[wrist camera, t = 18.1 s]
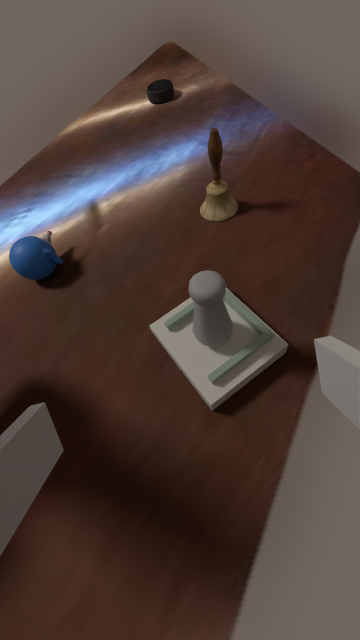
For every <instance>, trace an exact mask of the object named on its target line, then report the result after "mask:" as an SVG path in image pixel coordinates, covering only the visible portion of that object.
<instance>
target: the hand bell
mask: <svg viewBox="0 0 360 640" xmlns="http://www.w3.org/2000/svg"><path fill="white" fill-rule="evenodd" d="M208 154H209V159H210V162H211V165H212V179H213V180H212V183H210V184H209V185H208V186H207V189H206V200H205V201H204V202H203V204H202V205H201V208H200V214H201V216H202V217H203V218H204V219H206V220H208V221H215V222H219V221H224V220H227V219H229V218H231V217H232V216H234V215H235V214H236V212H237V210H238V204H237V202H236V200H235V199H234V198H232V197H231V196H230V193H229V188H228V184H227V183H226V182H224V181H221V171H220V163H221V158H222V142H221V138H220V136H219V133H218V129H217V128H213V129H211V130H210V137H209V141H208Z"/></svg>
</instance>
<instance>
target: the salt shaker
mask: <svg viewBox="0 0 360 640" xmlns="http://www.w3.org/2000/svg"><path fill="white" fill-rule="evenodd" d="M225 290H226V284H225V281H224V279H223V277H222V275H220V274H219V273H217V272H215V271H209V270H207V271H201V272H199V273H197V274H195V275H194V276H193V277H192V279H191V280H190V282H189V294H190V296H191V298H192V300H193V301H194V302H195V306H194V318H193V330H192V331H193V333H194V335H195V338H196V339H197V340H198V341H199V342H200V343H202V344H203V345H205V346H211V347H213V346H217V347H219V346H220V345H222V344H223V343H225V342H226V341H228V339H229V338H230V336H231V335H232V332H233V323H232V320H231V318H230V316H229V313H228V311H227V308H226V306H225V303H224V301H223V297H224V296H225Z"/></svg>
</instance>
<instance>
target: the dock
mask: <svg viewBox="0 0 360 640" xmlns="http://www.w3.org/2000/svg"><path fill="white" fill-rule="evenodd" d="M223 301H224V303H225V306H226V308H227V311H228V313H229V316H230V318H231V320H232V323H233V332H232V335H231V336H230V338H229V339H228V341H226V342H225V343H223V344H222V345H220V346H219V347H217V346H213V347H211V346H205V345H203V344H202V343H200V342H199V341H198V340H197V339H196V338H195V335H194V333H193V331H192V330H193V318H194V306H195V302H194V301H193V300H192V298H189V299H188V300H186V301H185V302H183V303H182V304H180V305H179V306H177V307H176V308H175V309H173V310H172V311H170V312H169V313H167V314H166V315H164V316H163V317H161V318H160V319H159V320H157V321H156V322H154V323H153V324H151V325H150V328H151V330H152V332H153V334H154V335H155V337H156V338H157V339H158V341H159V342H160V343H161V345H162V346H163V347H164V348H165V350H166V351H167V352H168V354H169V355H170V356H171V358H172V359H173V360H174V361H175V363H176V364H177V365H178V367H179V368H180V369H181V371H182V372H183V373H184V375H185V376H186V377H187V378H188V380H189V381H190V382H191V384H192V385H193V386H194V388H195V389H196V390H197V392H198V393H199V394H200V395H201V397H202V398H203V399H204V401H205V402H206V403H207V405H208V406H209V407H210V409H211V410H212V411H213V410H214V409H215V408H217V407H218V406H219V405H220V404H222V403H223V402H224V401H225V400H227V399H228V398H229V397H230V396H232V395H233V394H234V393H236V392H237V391H238V390H239V389H241V388H242V387H243V386H244V385H246V384H247V383H248V382H249V381H251V380H252V379H253V378H255V377H256V376H257V375H258V374H260V373H261V372H262V371H263V370H265V369H266V368H267V367H268V366H270V365H271V364H272V363H273V362H275V361H276V360H277V359H279V358H280V357H281V356H282V355H284V354H285V353H286V350H287V347H288V344H287V343H286V342H285V341H284V340H283V339H282V338H281V337H280V336H279V335H278V334H276V333H275V332H274V331H273V330H272V329H271V328H270V327H269V326H268V325H267V324H266V323H264V322H263V321H262V320H261V319H260V318H259V317H258V316H257V315H256V314H255V313H253V312H252V311H251V310H250V309H249V308H248V307H247V306H246V305H245V304H244V303H242V302H241V301H240V300H239V299H238V298H237V297H236V296H235V295H234V294H233V293H231V292H230V291H229V290H228V289H227V288H226V290H225V296H224V297H223Z"/></svg>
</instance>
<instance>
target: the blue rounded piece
mask: <svg viewBox="0 0 360 640" xmlns="http://www.w3.org/2000/svg"><path fill="white" fill-rule="evenodd" d="M51 235H52V233H51V231H48V232H47V234H46V235H45V236H43V237H42V238H38V237H34V236H28V237H24V238H21V239H19V240H18V241H16V242H15V243H14V244H13V246H12V247H11V250H10V254H9V258H10V263H11V265H12V267H13V268H14V270H15V271H16V272H17V273H19V274H20V275H22V276H23V277H25V278H28V279H32V280H40V279H44V278H46V277H48V276H49V275H51V274H52V273H53V272H54V270H55V268H56V266H57V263H58V264H63V260H62V259H60V258H59V257H57V255H56V252H55V250H54V248H53V247H52V245H51Z"/></svg>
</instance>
